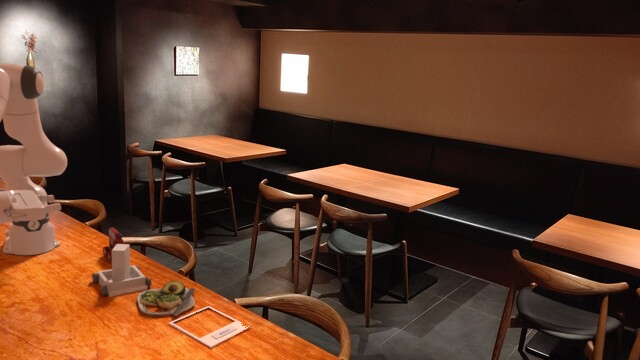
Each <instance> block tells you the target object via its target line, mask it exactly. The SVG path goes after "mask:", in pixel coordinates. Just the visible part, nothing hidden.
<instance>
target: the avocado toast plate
mask: <svg viewBox="0 0 640 360" xmlns="http://www.w3.org/2000/svg"><path fill="white" fill-rule="evenodd" d="M185 286H186V285H185V284H184V283H183V282H181V281H177V280H174V281H169V282H167V283H165V284H163V287H162V288H155V289H146V290H142V291H141V292H140V293H139V294H137V297H136V302H137V304H138V305H137V306H138V308H139V310H140V312H142V313H143V314H145V315H147V316H152V317H167V316H173V317H177V316H180V314H181V313H184V312H185V311H189V310H190V309H191V308H193V307H194V306H195V303H196V302H195V299H194V297H193V294H194V293H195V290H196V289H195V288H193V287H190V288H187V287H185ZM147 306H149V307H158V308H160V310H161V309H162V310H163V311H162V310H161V311H156V312H155V311H152V310H149V309H148V308H147ZM166 315H167V316H166Z"/></svg>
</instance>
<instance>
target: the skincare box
mask: <svg viewBox="0 0 640 360" xmlns="http://www.w3.org/2000/svg"><path fill="white" fill-rule="evenodd" d="M130 245H131V244H128V243H127V244H126V243H124V244H117V245H116V246H115V247H114V248H113V250H112V262H111V269H112V282H115V281H120V280H125V279H130V266H131V250H130V249H131V247H130Z"/></svg>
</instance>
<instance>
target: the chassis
mask: <svg viewBox="0 0 640 360" xmlns="http://www.w3.org/2000/svg"><path fill="white" fill-rule="evenodd" d="M91 280H92V283H99V285H100V286H101V287H100V290H101V296H103V297H105V296H107V297H108V298H112V297H116V296H121V295H126V294H131V293H132V294H133V293H137V292H140V291H141V292H142V291H146V290H149V289H148V288H149V287H152V279H151V277H150V276H148V277H146V275H144V274H143V273H142V272H141V268H140V266H139V265H135V264H133V265H130V279H125V280H120V281H115V282H112V268H111V269H105V270H100V271H97V272H94V273H92V274H91Z"/></svg>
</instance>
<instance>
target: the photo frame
mask: <svg viewBox="0 0 640 360" xmlns="http://www.w3.org/2000/svg"><path fill="white" fill-rule="evenodd" d="M208 308H209V309H212V310H214V311H216V312H218V313H220V314H222V315H224V316H226V317H228V318H230V319H232V320H234V321H235V322H233V321H232V322H231V323H229V324H227V325H225V326H223V327H221V328H219V329H216V330H214V331H212V332H211V333H208V334H206V335H204V336H202V337H198V336H196V335H194V334H193V333H191V332H189V331H188V330H186V329H184V328H182V327H180V326H179V325H177V324H175V322H177V321H180V320H182V319H185V318H187V317H189V316H191V315H192V316H193V315H194V314H196V312H197V313H199V312H200V311H203V310H206V309H208ZM212 310H211V311H212ZM214 311H213V312H214ZM216 312H215V313H216ZM218 313H217V314H218ZM220 314H219V315H220ZM222 315H221V316H222ZM224 316H223V317H224ZM226 317H225V318H226ZM241 323H243V322H242V321H239V320H238V319H235V318H234V317H231V316H230V315H228V314H226V313H224V312H221V311H220V310H217V309H215V308H213V307H212V306H209V305H208V306H206V307H203V308H201V309H198V310H196V311H193V312H190V313H189V314H186V315H184V316H181V317H179V318H177V319H174V320H172V321H170V322H168V325H169V326H171V327H173V328H175V329H176V328H177V329H176V330H178V331H180V332H181V331H182V332H181V333H183V332H184V334H185V333H186V334H185V335H187V336H188V335H189V336H188V337H190V336H191V337H190V338H192V337H193V338H192V339H194V340H195V339H196V341H197V340H198V341H197V342H199V341H200V342H201V344H202V343H203V344H202V345H204V344H205V345H204V346H206V345H207V346H209V347H210V348H209V347H208V348H209V349H213V348H215V347H217V346H218V345H217V344H219V343H221V342H223V341H225V340H227V339H228V338H230V337H232V336H234V335H236V334H238V333H240V332H242V331H243V330H246V329H247V328H248V327H249V325H248V327H246V326H242V325H243V324H241ZM245 327H246V328H245ZM227 341H228V340H227ZM200 342H199V343H200ZM225 342H226V341H225ZM223 343H224V342H223ZM221 344H222V343H221ZM216 345H217V346H216ZM219 345H220V344H219ZM207 346H206V347H207ZM214 346H215V347H214ZM212 347H213V348H212Z"/></svg>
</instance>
